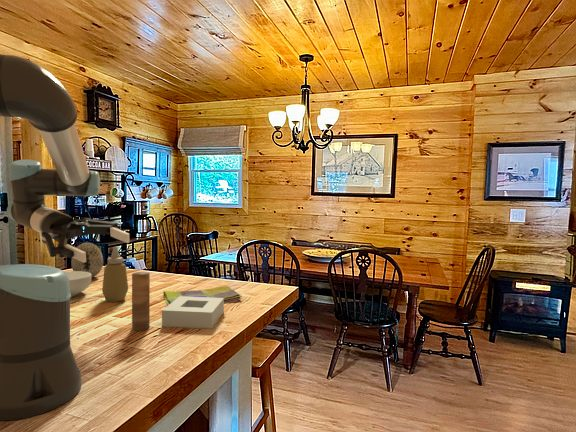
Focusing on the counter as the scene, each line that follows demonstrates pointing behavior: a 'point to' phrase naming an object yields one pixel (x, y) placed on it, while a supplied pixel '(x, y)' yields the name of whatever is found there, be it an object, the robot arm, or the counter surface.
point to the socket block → (193, 312)
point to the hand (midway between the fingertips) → (108, 247)
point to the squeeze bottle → (115, 278)
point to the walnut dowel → (140, 301)
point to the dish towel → (205, 294)
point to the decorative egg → (89, 259)
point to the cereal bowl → (78, 281)
